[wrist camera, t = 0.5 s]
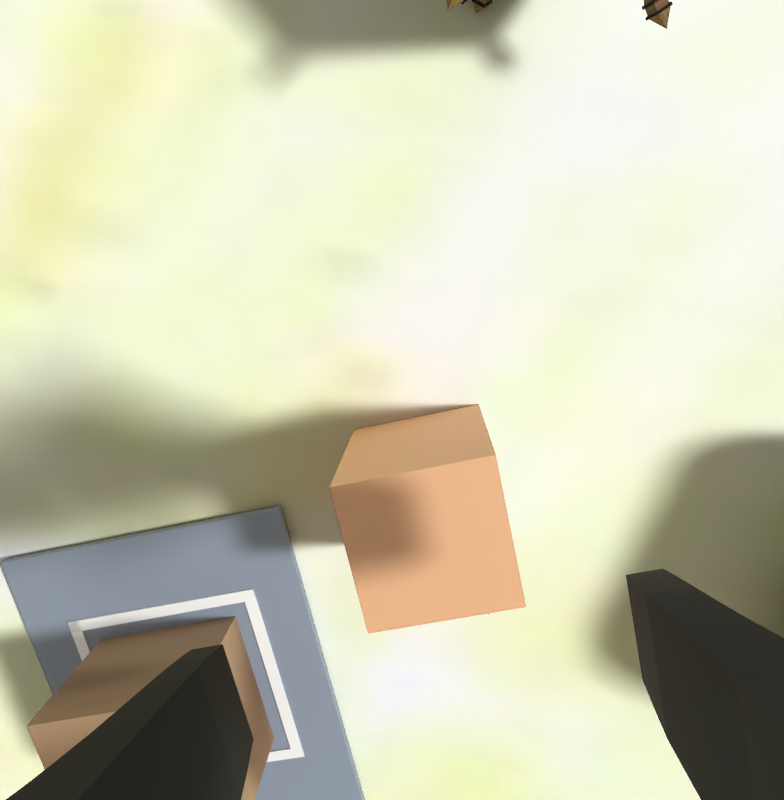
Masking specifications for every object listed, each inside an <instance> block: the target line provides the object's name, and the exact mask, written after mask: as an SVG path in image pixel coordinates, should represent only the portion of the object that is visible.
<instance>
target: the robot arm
mask: <svg viewBox="0 0 784 800" xmlns="http://www.w3.org/2000/svg"><path fill="white" fill-rule="evenodd" d="M626 578H627V584H628V590H629V597H630V603H631V609H632V615H633V622H634V628H635V634H636V641H637V647H638V653H639V660H640V666H641V672H642V679H643V682H644V684H645V686H646V689H647V691H648V694H649V696H650V699H651V701H652V703H653V706H654V708H655V711H656V713H657V715H658V718H659V720H660V722H661V725H662V727H663V729H664V732H665V734H666V736H667V739H668V740H669V742H670V744H671V746H672V748H673V750H674V751H675V753H676V755H677V757H678V759H679V761H680V762H681V764H682V766H683V768H684V770H685V771H686V773H687V775H688V777H689V779H690V780H691V782H692V784H693V786H694V788H695V789H696V791H697V793H698V795H699V797H700V798H701V800H784V638H782V637H780V636H778V635H777V634H775V633H773V632H771V631H769V630H767V629H765V628H764V627H762V626H760V625H758V624H756V623H755V622H753V621H751V620H749V619H748V618H746V617H744V616H742V615H740V614H739V613H737V612H735V611H734V610H732V609H730V608H728V607H727V606H725V605H723V604H722V603H720V602H718V601H717V600H715V599H713V598H712V597H710V596H708V595H707V594H705V593H703V592H702V591H700V590H698V589H697V588H695V587H693V586H692V585H690V584H688V583H687V582H685V581H683V580H682V579H680V578H678V577H677V576H675V575H673V574H672V573H670V572H668V571H666V570H664V569H659V570H653V571H647V572H642V573H636V574H630V575H626ZM253 740H254V738H253V735H252V732H251V729H250V726H249V723H248V720H247V717H246V714H245V711H244V708H243V705H242V702H241V699H240V695H239V692H238V689H237V686H236V683H235V680H234V677H233V674H232V671H231V668H230V665H229V662H228V659H227V656H226V653H225V650H224V647H223V644H221V645H215V646H209V647H203V648H198V649H192V650H190V651H189V652H187V653H186V654H184V655H183V656H182V657H180V658H179V659H178V660H176V661H175V662H174V663H172V664H171V665H170V666H169V667H168V668H166V669H165V670H164V671H163V672H161V673H160V674H159V675H158V676H157V677H156V678H154V679H153V680H152V681H151V682H150V683H148V684H147V685H146V686H145V687H144V688H143V689H141V690H140V691H139V692H138V693H137V694H136V695H135V696H133V697H132V698H131V699H130V700H129V701H128V702H126V703H125V704H124V705H123V706H122V707H121V708H119V709H118V710H117V711H116V712H115V713H113V714H112V715H111V716H110V717H109V718H108V719H106V720H105V721H104V722H103V723H102V724H101V725H99V726H98V727H97V728H96V729H95V730H94V731H92V732H91V733H90V734H89V735H88V736H86V737H85V738H84V739H83V740H81V741H80V742H79V743H78V744H76V745H75V746H74V747H73V748H71V749H70V750H69V751H68V752H66V753H65V754H64V755H63V756H62V757H60V758H59V759H58V760H57V761H55V762H54V763H53V764H52V765H50V766H49V767H48V768H47V769H45V770H44V771H43V772H42V773H40V774H39V775H38V776H37V777H36V778H34V779H33V780H32V781H30V782H29V783H28V784H26V785H25V786H24V787H22V788H21V789H20V790H18V791H17V792H16V793H14V794H13V795H12V796H10V797H9V798H8V799H6V800H241V798H242V793H243V789H244V784H245V780H246V775H247V771H248V766H249V760H250V755H251V750H252V745H253Z"/></svg>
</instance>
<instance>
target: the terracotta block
mask: <svg viewBox="0 0 784 800" xmlns="http://www.w3.org/2000/svg"><path fill="white" fill-rule="evenodd" d="M329 489H330V492H331V496H332V500H333V504H334V507H335V511H336V515H337V519H338V522H339V526H340V530H341V534H342V537H343V541H344V545H345V549H346V552H347V556H348V560H349V564H350V567H351V571H352V575H353V579H354V582H355V586H356V590H357V594H358V597H359V601H360V605H361V609H362V613H363V616H364V620H365V624H366V628H367V631H368V633H374V632H380V631H385V630H391V629H397V628H403V627H409V626H415V625H421V624H427V623H433V622H439V621H445V620H451V619H457V618H463V617H469V616H475V615H481V614H487V613H493V612H499V611H504V610H510V609H516V608H522V607H526V604H525V599H524V594H523V589H522V584H521V579H520V574H519V569H518V564H517V559H516V554H515V549H514V544H513V539H512V534H511V529H510V524H509V519H508V514H507V509H506V504H505V499H504V494H503V489H502V484H501V479H500V475H499V470H498V465H497V460H496V455H495V452H494V449H493V446H492V443H491V440H490V437H489V434H488V431H487V428H486V425H485V422H484V419H483V416H482V413H481V410H480V407H479V405H478V404H477V405H472V406H467V407H462V408H457V409H453V410H448V411H443V412H438V413H433V414H428V415H423V416H419V417H414V418H409V419H404V420H399V421H394V422H389V423H385V424H380V425H375V426H370V427H365V428H360V429H356V430H354V431H353V434H352V436H351V438H350V441H349V443H348V445H347V448H346V450H345V452H344V454H343V457H342V459H341V461H340V464H339V466H338V468H337V471H336V473H335V475H334V478H333V480H332V482H331V485H330V487H329Z"/></svg>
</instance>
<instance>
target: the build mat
mask: <svg viewBox="0 0 784 800" xmlns="http://www.w3.org/2000/svg"><path fill="white" fill-rule="evenodd" d="M0 564H1V567H2V569H3V572H4V574H5V577H6V579H7V582H8V584H9V587H10V589H11V592H12V594H13V597H14V599H15V602H16V604H17V607H18V609H19V612H20V614H21V616H22V619H23V621H24V624H25V626H26V629H27V631H28V634H29V636H30V639H31V641H32V644H33V646H34V649H35V651H36V654H37V656H38V659H39V661H40V664H41V666H42V669H43V671H44V674H45V676H46V679H47V681H48V683H49V686H50V688H51V691H52V693H53V695H54V694H55V693H56V691H57V690H58V689H59V688H60V687H61V686H62V684H63V683H64V682H65V681H66V680H67V679H68V677H69V676H70V675H71V674H72V673H73V672H74V670H75V669H76V668H77V667H78V666H79V665H80V663H81V662H82V661H83V660H84V659H85V658H86V656H87V655H88V654H89V653H90V652H91V651H92V649H93V648H94V647H95V646H96V645H97V644H98V642H99V641H100V640H103V639H109V638H115V637H120V636H126V635H132V634H137V633H143V632H149V631H154V630H160V629H166V628H172V627H177V626H183V625H189V624H194V623H200V622H206V621H211V620H217V619H223V618H228V617H234V616H235V617H236V620H237V623H238V626H239V629H240V632H241V635H242V639H243V642H244V645H245V648H246V651H247V654H248V657H249V661H250V664H251V667H252V670H253V673H254V676H255V680H256V683H257V686H258V689H259V692H260V695H261V698H262V702H263V705H264V708H265V711H266V714H267V717H268V720H269V724H270V727H271V730H272V733H273V736H274V740H273V743H272V746H271V750H270V753H269V756H268V759H267V762H266V765H265V768H264V771H263V774H262V778H261V781H260V784H259V787H258V790H257V793H256V796H255V799H254V800H365V799H364V795H363V792H362V788H361V785H360V781H359V778H358V774H357V771H356V767H355V764H354V760H353V757H352V753H351V750H350V746H349V743H348V739H347V736H346V732H345V729H344V725H343V722H342V718H341V715H340V712H339V708H338V705H337V701H336V698H335V694H334V691H333V687H332V684H331V680H330V677H329V673H328V670H327V666H326V663H325V659H324V656H323V652H322V649H321V645H320V642H319V638H318V635H317V631H316V628H315V624H314V621H313V617H312V614H311V610H310V607H309V603H308V600H307V596H306V593H305V589H304V586H303V582H302V579H301V576H300V572H299V569H298V565H297V562H296V558H295V555H294V551H293V548H292V544H291V541H290V537H289V534H288V530H287V527H286V523H285V520H284V516H283V513H282V509H281V506H275V507H270V508H265V509H260V510H254V511H249V512H244V513H239V514H234V515H229V516H224V517H218V518H213V519H208V520H203V521H198V522H193V523H188V524H183V525H177V526H172V527H167V528H162V529H157V530H152V531H147V532H142V533H136V534H131V535H126V536H121V537H116V538H111V539H106V540H101V541H95V542H90V543H85V544H80V545H75V546H70V547H65V548H60V549H54V550H49V551H44V552H39V553H34V554H29V555H24V556H19V557H13V558H8V559H5V560H4V561H2V562H1V563H0Z"/></svg>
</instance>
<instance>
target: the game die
mask: <svg viewBox="0 0 784 800" xmlns="http://www.w3.org/2000/svg"><path fill="white" fill-rule="evenodd" d="M466 1H467V0H447V3H448V10H449V9H451V8H453V7H454V6H456V5H458V4H460V3H461V4H464V3H465V2H466ZM472 2H474V6H475V11H476V12H478V11H479V10H480V9H482V8H485V7H486V6H488V5H489V4H491V3H492V0H472ZM671 5H672V2H669V1H668V0H644V6H643V7H642V8H643V9H646V12H647V15H648V17H646V20H648V19H650V20H652V21H654V22H655V23H657V24H659V25H661V26H663V27H665V28H666V29H667V23H668V17H669V11H670V6H671Z"/></svg>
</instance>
